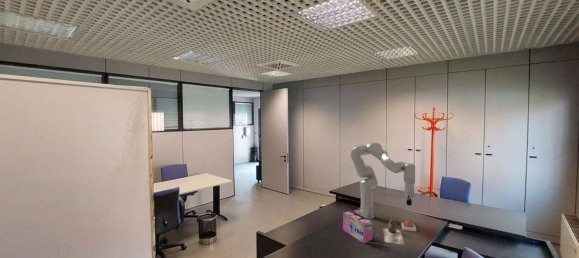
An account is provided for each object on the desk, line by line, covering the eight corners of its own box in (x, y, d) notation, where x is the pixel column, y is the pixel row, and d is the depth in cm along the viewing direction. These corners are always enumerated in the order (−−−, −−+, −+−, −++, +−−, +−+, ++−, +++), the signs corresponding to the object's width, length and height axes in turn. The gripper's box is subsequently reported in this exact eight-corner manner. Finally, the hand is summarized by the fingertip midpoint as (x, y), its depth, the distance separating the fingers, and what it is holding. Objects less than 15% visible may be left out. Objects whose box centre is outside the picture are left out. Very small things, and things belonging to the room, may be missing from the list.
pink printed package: (341, 229, 188) (341, 211, 188) (349, 227, 192) (349, 209, 191) (364, 243, 167) (364, 223, 166) (373, 241, 170) (373, 221, 170)
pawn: (388, 232, 181) (388, 220, 180) (388, 229, 185) (388, 217, 185) (396, 233, 179) (396, 221, 179) (395, 230, 184) (395, 218, 184)
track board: (384, 243, 167) (384, 241, 167) (383, 229, 188) (383, 228, 188) (404, 246, 163) (404, 244, 163) (400, 231, 184) (400, 230, 184)
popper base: (402, 231, 185) (402, 227, 185) (401, 226, 194) (401, 222, 194) (416, 232, 183) (416, 228, 183) (414, 227, 191) (414, 223, 191)
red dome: (405, 228, 187) (405, 220, 186) (404, 225, 191) (404, 218, 191) (412, 229, 185) (413, 221, 185) (411, 226, 190) (411, 219, 190)
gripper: (402, 177, 195) (402, 201, 196) (405, 182, 181) (404, 207, 181) (413, 178, 193) (413, 202, 193) (416, 183, 179) (416, 208, 179)
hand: (409, 204), depth 187 cm, fingers closed
